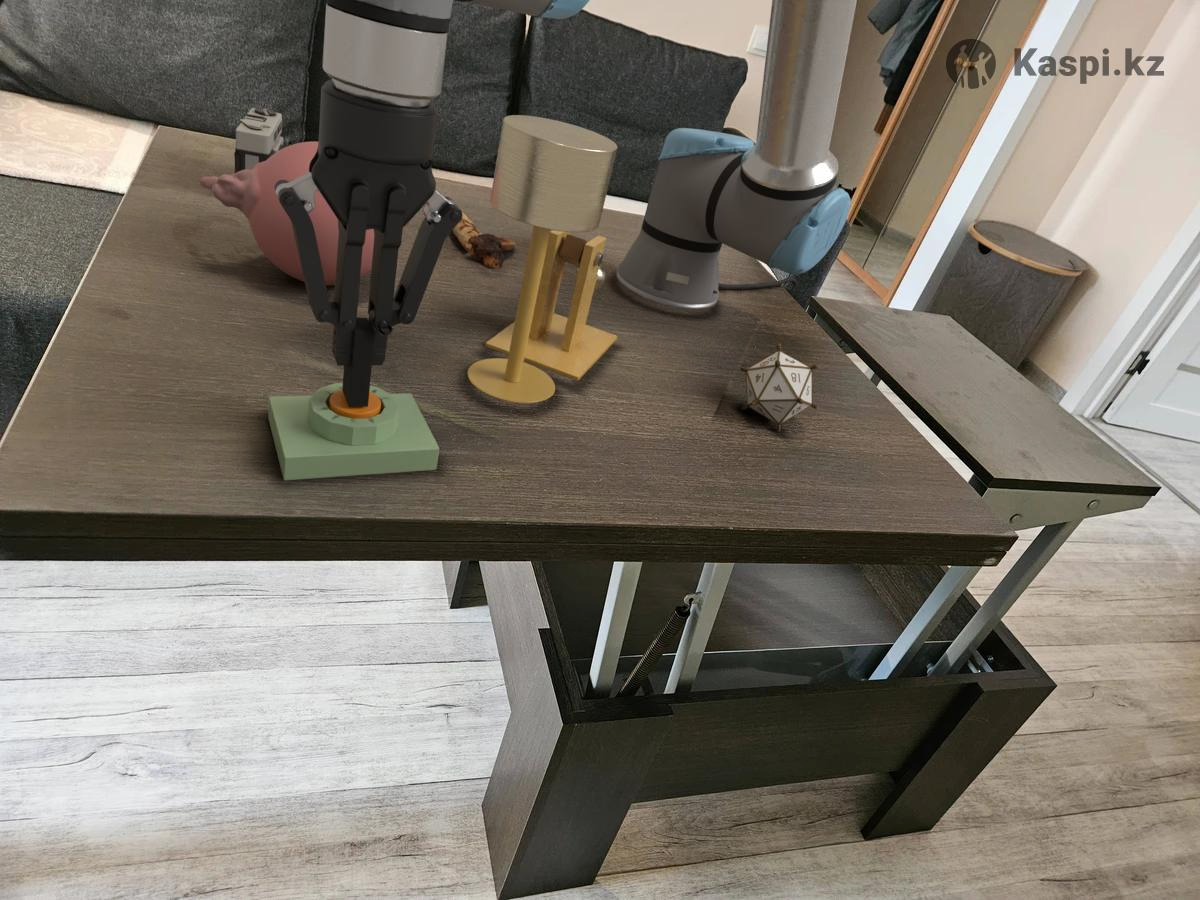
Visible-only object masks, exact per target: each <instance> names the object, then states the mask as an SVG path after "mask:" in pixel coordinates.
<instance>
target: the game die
mask: <svg viewBox="0 0 1200 900" xmlns="http://www.w3.org/2000/svg"><path fill="white" fill-rule="evenodd" d="M775 347H776V351H775V352H773V353H771V354H769V355H768V356H766V357H765V358H763V359H761V360H760V361H757V363H755V364H753V365H751V366H749V367H748V368H747V367H746V366H744V365H740V366H738V367H739V369H740V371H741V372H745V386H746V387H745V388H746V404H744V405H742V407H741V410H742V411H743V410H744V411H746V410H748V408H750V409H751V410H753V411H755V412H756V413H758V414H759V415H762V416H763V417H765V418H766V419H768V420H769V421H771V422H773V423H775V424H776V430H777V432H778V433H780V432H781V430H782V424H783V423H785V422H787V421H788V420H790V419H791V418H793V417H794V416H797V415H798V414H800V413H802V412H804V411H805V410H807V409H808V408H810V407H811V408H812V409H814V410H815V409H816V410H817V409H819V406H818V404H817V403H813V370H816V369H818V367H819V365H820V363H814V364H812V365H811V366H809V365H808V364H806V363H804V362H802V361H800V360H798V359H796V358H795V357H793V356H791V355H789V354H787V353H785V352H784V351H781V350H782V345H781V343H780V342H778V344H777V345H776V346H775Z"/></svg>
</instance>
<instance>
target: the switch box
mask: <svg viewBox="0 0 1200 900" xmlns="http://www.w3.org/2000/svg"><path fill="white" fill-rule="evenodd" d="M342 386H343V382H334V383H330V384H328V385H325V386H322V387H319V388H316V389H317V390H315V392H314V393H313V394H312V395H274V396H273V395H271V396H270V395H269V397H268V412H267V413H268V417H267V419H268V422H269V426H270V431H271V434H272V435H271V436H272V439H273V442H274V446H275V451H276V455H277V459H278V462H279V467H280V471H281V475H282V479H283V481H295V480H309V479H321V478H322V479H323V478H336V477H338V478H339V477H349V476H365V475H366V476H367V475H379V474H396V473H409V472H424V471H436V470H437V467H438V462H439V461H438V460H439V456H440V455H439V454H440V447H439V445H438V443H437V440H436V439H435V437H434V435H433V433H432V431H431V429H430V427H429V426H428V424H427V422H426V419H425V417H424V415H423V413H422V411H421V410H420V407H419V406H418V404H417V401H416V400H415V398H414V395H413V394H412V393H410V392H409V393H407V392H406V393H388V391H386V390H383V389H382V388H380V387H379V386H375V385H370V390H369V392H371V393H373V394H375V395H376V396H377V397H378V398H379V399H380V401H381V409H380V414H379V415H376V416H373V417H371V418H361V419H352V418H348V417H343V416H339V415H337V414H336V413H334V412H333V411H331V410H330V409H329V404H330V397H331V395H332V394H333V393H335V392H336V391H339V390H342Z"/></svg>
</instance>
